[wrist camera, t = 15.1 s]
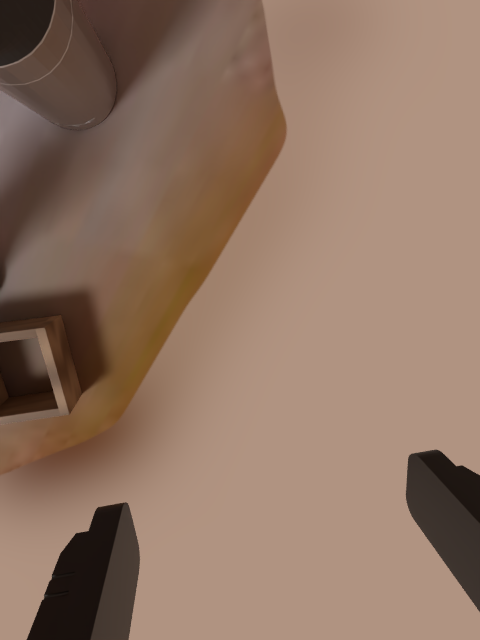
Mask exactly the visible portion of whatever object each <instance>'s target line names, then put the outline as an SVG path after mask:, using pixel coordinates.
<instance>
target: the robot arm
mask: <svg viewBox="0 0 480 640" xmlns="http://www.w3.org/2000/svg"><path fill="white" fill-rule="evenodd" d="M0 90H1V91H3V92H4V93H6V94H8V95H9V96H11V97H12V98H14V99H16V100H17V101H19V102H20V103H22V104H24V105H25V106H27V107H28V108H30V109H31V110H33V111H35V112H36V113H38V114H39V115H41V116H42V117H44V118H46V119H47V120H49V121H50V122H52V123H54V124H56V125H58V126H60V127H63V128H67V129H71V130H83V129H88V128H91V127H93V126H96V125H98V124H99V123H100V122H102V121H103V120H104V119H105V118H106V117H107V115H108V114H109V113H110V111H111V109H112V107H113V105H114V102H115V97H116V90H117V82H116V77H115V71H114V69H113V66H112V63H111V61H110V59H109V57H108V55H107V53H106V52H105V50H104V48H103V46H102V44H101V42H100V41H99V39H98V37H97V35H96V33H95V31H94V30H93V28H92V26H91V24H90V22H89V21H88V19H87V17H86V15H85V13H84V12H83V10H82V8H81V6H80V4H79V3H78V1H77V0H0ZM406 500H407V504H408V508H409V511H410V513H411V515H412V517H413V519H414V520H415V522H416V523H417V525H418V526H419V527H420V529H421V530H422V532H423V533H424V534H425V536H426V537H427V539H428V540H429V541H430V543H431V544H432V545H433V547H434V548H435V550H436V551H437V552H438V554H439V555H440V557H441V558H442V559H443V561H444V562H445V564H446V565H447V566H448V568H449V569H450V571H451V572H452V574H453V575H454V576H455V578H456V579H457V580H458V582H459V583H460V585H461V586H462V588H463V589H464V590H465V591H466V593H467V595H468V596H469V597H470V599H471V600H472V602H473V603H474V604H475V606H476V607H477V609H478V610H479V611H480V475H478V474H476V473H474V472H473V471H471V470H469V469H467V468H466V467H464V466H455V465H454V464H453V463H452V462H451V461H450V460H449V459H448V458H447V457H446V456H445V455H444V454H443V453H442V452H440V451H439V450H431V451H426V452H420V453H414V454H411V455H410V456H409V458H408V470H407V487H406ZM139 564H140V556H139V545H138V540H137V536H136V532H135V528H134V525H133V520H132V516H131V512H130V508H129V505H128V503H120V504H114V505H108V506H103V507H98V508H97V509H96V511H95V514H94V516H93V519H92V522H91V525H90V528H89V531H87V532H81V533H76V534H75V536H74V537H73V538H72V539H71V541H70V542H69V543H68V545H67V546H66V547H65V549H64V550H63V551H62V552H61V554H60V556H59V559H58V561H57V564H56V566H55V569H54V572H53V574H52V580H51V581H50V582H49V584H48V587H47V590H46V592H45V594H44V600H42V602H41V605H40V607H39V610H38V612H37V615H36V617H35V620H34V623H33V625H32V628H31V630H30V633H29V635H28V638H27V640H128V638H129V633H130V626H131V619H132V613H133V606H134V600H135V593H136V587H137V580H138V574H139Z"/></svg>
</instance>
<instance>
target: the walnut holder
mask: <svg viewBox="0 0 480 640" xmlns="http://www.w3.org/2000/svg"><path fill="white" fill-rule="evenodd" d="M37 337H38V340H39V343H40V347H41V350H42V354H43V357H44V361H45V364H46V367H47V371H48V374H49V378H50V381H51V384H52V388H53V391H50V392H43V393H36V394H29V395H22V396H15V397H9V396H8V393H7V390H6V387H5V384H4V382H3V379H2V376H1V373H0V425H3V424H9V423H16V422H23V421H30V420H36V419H43V418H50V417H56V416H63V415H69V414H70V413H71V411H72V409H73V408H74V406H75V405H76V403H77V401H78V400H79V398H80V396H81V395H82V392H81V388H80V384H79V380H78V377H77V373H76V369H75V365H74V362H73V358H72V354H71V350H70V346H69V343H68V339H67V335H66V331H65V328H64V324H63V320H62V316H61V315H57V316H49V317H41V318H33V319H25V320H17V321H9V322H1V323H0V342H6V341H14V340H22V339H29V338H37Z"/></svg>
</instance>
